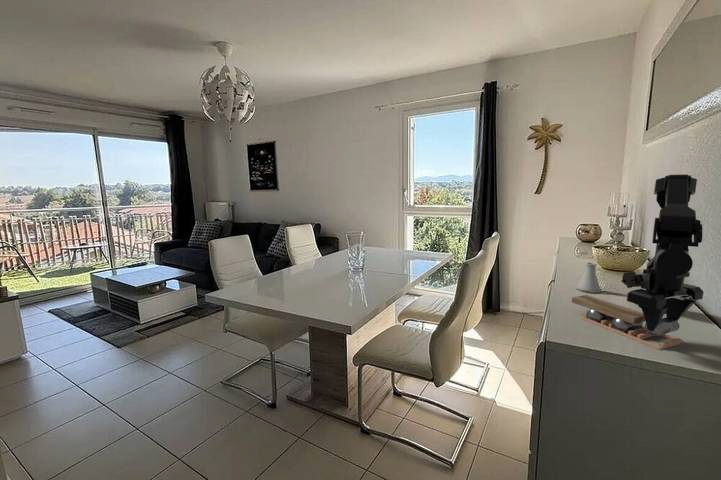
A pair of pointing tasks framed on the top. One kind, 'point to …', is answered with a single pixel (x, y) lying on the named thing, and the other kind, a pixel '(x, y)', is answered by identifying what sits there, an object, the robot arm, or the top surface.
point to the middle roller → (625, 325)
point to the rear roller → (597, 316)
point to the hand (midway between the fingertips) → (660, 328)
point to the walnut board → (609, 309)
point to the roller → (664, 326)
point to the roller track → (639, 332)
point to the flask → (589, 280)
